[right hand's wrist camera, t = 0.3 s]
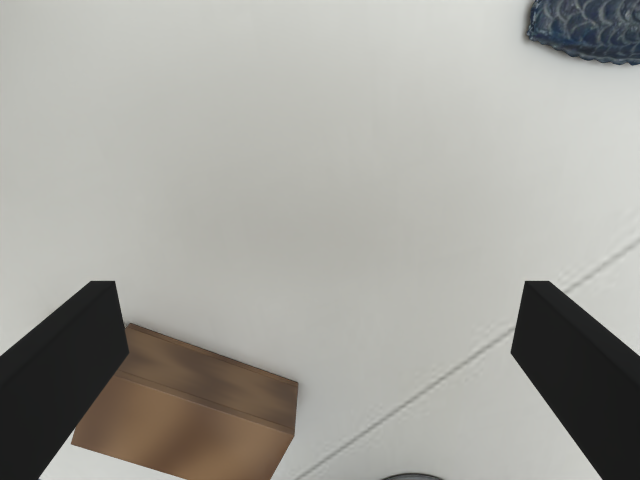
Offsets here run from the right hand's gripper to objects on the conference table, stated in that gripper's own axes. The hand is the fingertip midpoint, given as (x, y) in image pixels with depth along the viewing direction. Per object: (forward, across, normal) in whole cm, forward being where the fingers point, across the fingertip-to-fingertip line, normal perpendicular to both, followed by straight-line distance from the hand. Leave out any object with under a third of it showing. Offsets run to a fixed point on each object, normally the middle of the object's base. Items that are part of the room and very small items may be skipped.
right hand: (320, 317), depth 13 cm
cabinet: (+28, +14, +27) cm, 41 cm away
